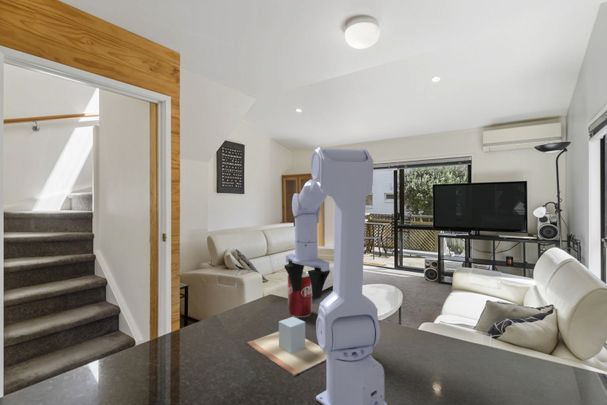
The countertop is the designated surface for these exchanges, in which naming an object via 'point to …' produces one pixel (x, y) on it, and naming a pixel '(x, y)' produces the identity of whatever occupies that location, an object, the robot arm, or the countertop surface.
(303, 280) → the soda can
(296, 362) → the mat
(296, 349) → the block
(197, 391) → the countertop surface
